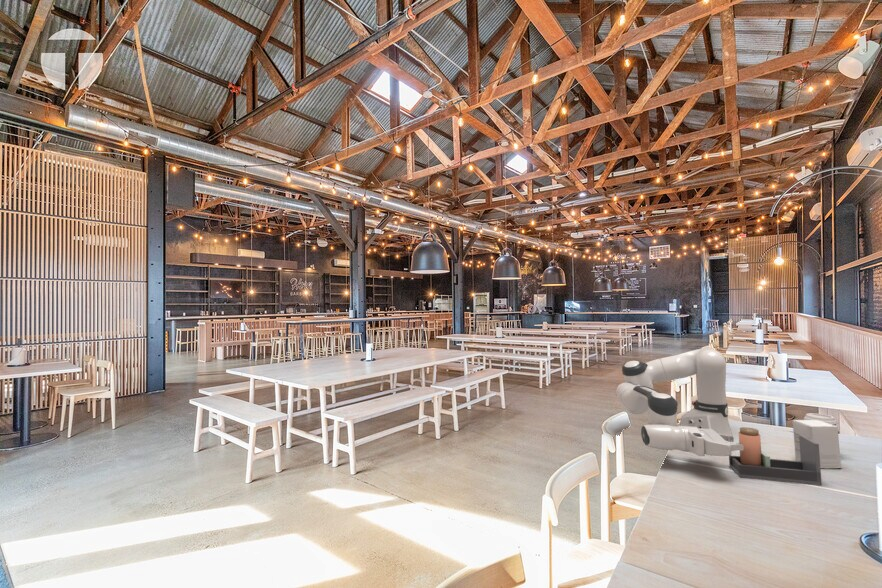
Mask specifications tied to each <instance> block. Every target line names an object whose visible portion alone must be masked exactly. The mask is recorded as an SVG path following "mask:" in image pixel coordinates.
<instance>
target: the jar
mask: <svg viewBox="0 0 882 588" xmlns="http://www.w3.org/2000/svg"><path fill="white" fill-rule="evenodd" d="M759 433H760V432H759V429H757V428H754V427H745V426H743V427H739V431H738V444H742V445H743V446H744V450H739V456H740V463H741V464H742V465H753V466H762V454H761V450H762V442H761V439H762V438H761V434H759Z"/></svg>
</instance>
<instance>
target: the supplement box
mask: <svg viewBox="0 0 882 588" xmlns="http://www.w3.org/2000/svg"><path fill="white" fill-rule="evenodd" d="M792 430H793V442H794V457H795V458H794V459H795V461H801V457H800V442H799V435H803V436H805V437H807V438H809V439H810V440H812V441H814V442H816V443H818V444H819V455H820V468H841V469H842V462H841V449H840V439H839V426H838V425H836V426H835V425H831V424H828V423H825V422H822V421H819V420H804V419H792Z"/></svg>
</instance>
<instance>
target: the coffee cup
mask: <svg viewBox="0 0 882 588" xmlns="http://www.w3.org/2000/svg"><path fill="white" fill-rule="evenodd" d="M803 420H819V421H822V422H825V423H828V424H831V425H835V426H837V425H838V424H839V423H838V421H837V420H836V418H835V417H834V416H833V415H830V414H824V413H816V412H815V413H814V412H812V413H810V412H809V413H806V414H805V416H804V417H803Z"/></svg>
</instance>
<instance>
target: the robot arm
mask: <svg viewBox="0 0 882 588" xmlns="http://www.w3.org/2000/svg"><path fill="white" fill-rule="evenodd" d="M621 371H622V372H621V373H622V375H623V378H624V382H622V383H620V384H618V386H617V387H616V390H615V394H616V397H617V399H618V401H619V402H620V404H621V405H622V407H624V408H625V409H626V410H627V412H629V413H631V414H634V415H642V414H643V415H644V414H646V413H648V415H647V416H648V419H647V420H648V423H647V424H643V425H642V426H641V430H640V433H641V439H642V442H643V443H644V445H645V446H646V447H648V448H652V449H657V450H665V451H674V450H676V451H680V452H685V453H686V452H687V453H692V454H695V455H696V456H699V457H705V455H706V456H714V457H715V456H716V457H729V456H730V455H731V456H732V452H735V451H740V450H744V446H743V445H742V444H739V443H733V442H734V437H733V432H732V430H731V427H730V421H729V418H728V417H729V407H728V403H727V394H726V393H727V390H726V382H727V360H726V358H725V356H724V355H723V354H722V353H721V352H719V351H718V350H717V349H715V348H712V347H701V348H698V349H694V350H690V351H689V350H688V351H687V352H683V353H679V354H675V355H670V356H666V357H660V358H656V359H654V360H649V361H647V362H643V361H641V360H636V359H635V360H634V359H633V360H629V361H627V362H625V363H623V364H622V366H621ZM695 375H696V393H697V394H696V395H697V396H696V397H697V399H696V400H695V401H693V402H692V403H691V405H692V406H693V408H692V409H690V410H689V411H686V412H685V413H683V414H682V415H681V418H680V421H679V423H677V418H678V417H677V416H678V413H677V412H678V404H679V403H678V401H677V400H676V399H675V398H674V396H672V395H671V394H667V393H664V392H661V391H658V390H656V389H655V388H654V384H653V383H663V382H668V381H669V382H670V381H675V380H680V379H685V378H688V377H691V376H695Z"/></svg>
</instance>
